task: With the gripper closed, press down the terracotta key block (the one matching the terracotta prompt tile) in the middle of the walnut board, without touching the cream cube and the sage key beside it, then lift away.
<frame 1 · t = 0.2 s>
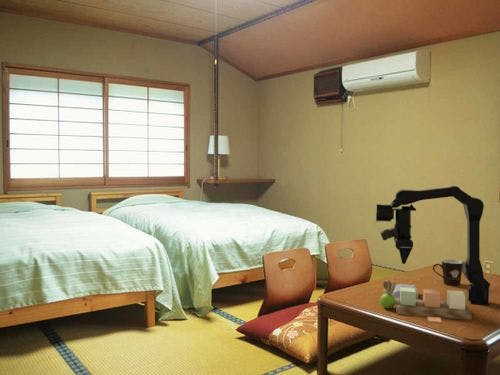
hand: (402, 261, 175), 14 cm above the table, fingers open, 9 cm apart
cream cube: (456, 299, 156), point 5 cm above the table, slide at 0.0 cm
coffee mug: (448, 284, 195), on the table
key terracotta: (431, 298, 158), point 5 cm above the table, slide at 0.0 cm
stone block: (403, 296, 178), on the table
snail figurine: (388, 308, 163), on the table
walnut board: (431, 311, 159), on the table
prompt tile: (434, 320, 150), on the table
key sage: (407, 296, 160), point 5 cm above the table, slide at 0.0 cm
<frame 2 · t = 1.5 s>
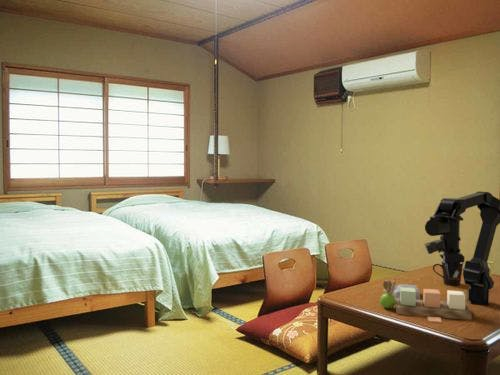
hand: (449, 276, 160), 12 cm above the table, fingers open, 3 cm apart
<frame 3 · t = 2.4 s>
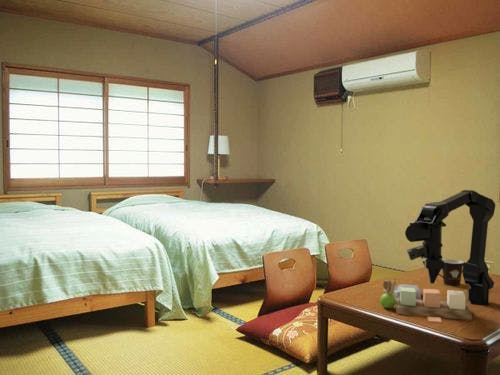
hand: (432, 283, 158), 10 cm above the table, fingers closed
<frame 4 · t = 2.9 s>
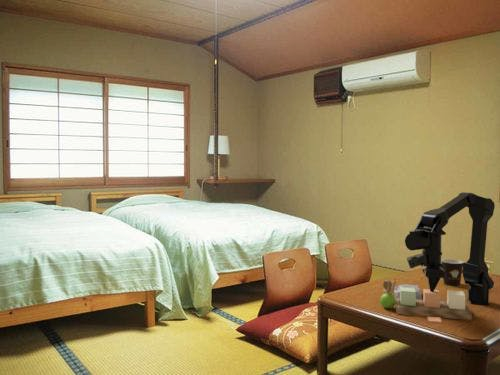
hand: (431, 291, 158), 7 cm above the table, fingers closed, pressing on key terracotta
key terracotta: (431, 298, 158), point 5 cm above the table, slide at 0.1 cm, touching gripper
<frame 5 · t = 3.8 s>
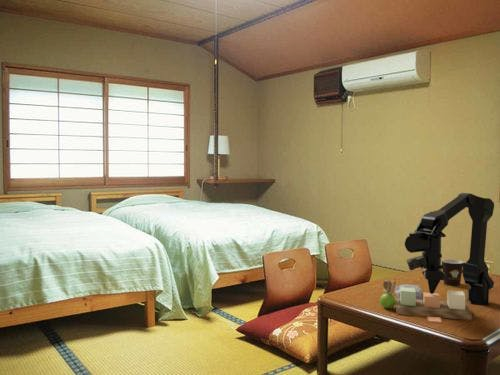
hand: (431, 293, 158), 7 cm above the table, fingers closed
key terracotta: (431, 301, 158), point 4 cm above the table, slide at 1.3 cm
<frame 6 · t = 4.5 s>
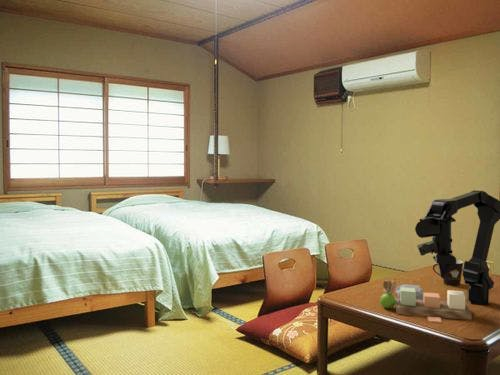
hand: (442, 277, 160), 12 cm above the table, fingers closed
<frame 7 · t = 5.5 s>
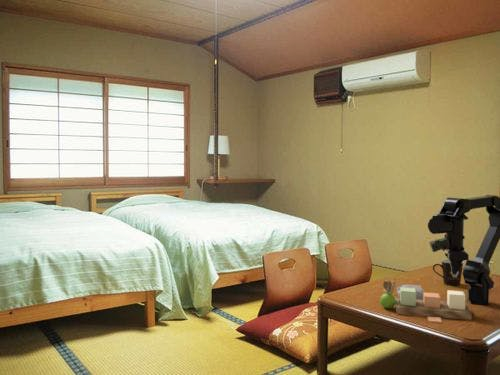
hand: (454, 274, 163), 12 cm above the table, fingers closed
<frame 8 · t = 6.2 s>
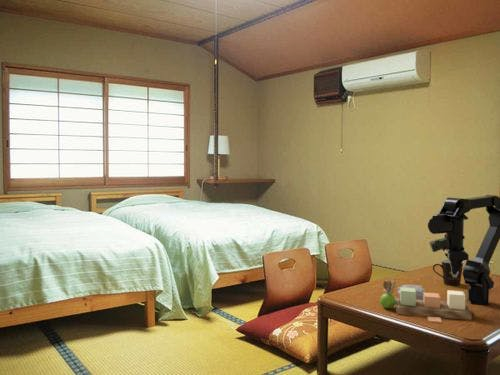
hand: (454, 274, 163), 12 cm above the table, fingers closed
at the end: key terracotta slide at 1.3 cm; cream cube slide at 0.0 cm; key sage slide at 0.0 cm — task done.
